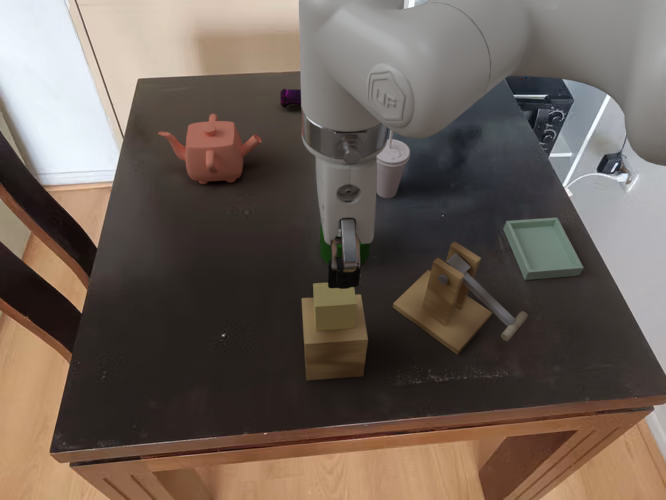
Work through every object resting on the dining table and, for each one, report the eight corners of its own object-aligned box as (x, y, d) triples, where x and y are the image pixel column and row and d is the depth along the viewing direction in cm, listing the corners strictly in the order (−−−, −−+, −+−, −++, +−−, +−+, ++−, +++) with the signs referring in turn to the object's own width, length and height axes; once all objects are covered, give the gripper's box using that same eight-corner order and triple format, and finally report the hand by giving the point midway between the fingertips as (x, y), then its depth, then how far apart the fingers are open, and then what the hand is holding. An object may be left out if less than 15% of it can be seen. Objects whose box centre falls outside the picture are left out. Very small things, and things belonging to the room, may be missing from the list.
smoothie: (387, 174, 102) (394, 113, 92) (411, 193, 99) (421, 131, 89) (362, 189, 100) (367, 127, 89) (385, 208, 97) (393, 147, 86)
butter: (351, 305, 71) (353, 280, 67) (354, 328, 69) (356, 304, 64) (313, 308, 70) (313, 283, 66) (315, 331, 68) (315, 306, 64)
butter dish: (579, 275, 87) (583, 267, 86) (524, 280, 87) (528, 272, 85) (553, 225, 95) (557, 217, 93) (503, 229, 94) (506, 220, 92)
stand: (357, 333, 80) (361, 294, 72) (363, 376, 75) (367, 339, 68) (303, 337, 79) (301, 298, 72) (306, 380, 75) (304, 344, 67)
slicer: (490, 316, 82) (513, 264, 72) (457, 355, 78) (476, 305, 68) (427, 274, 87) (440, 219, 77) (392, 307, 83) (401, 254, 73)
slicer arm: (522, 320, 74) (532, 314, 72) (503, 343, 72) (512, 338, 70) (453, 254, 76) (461, 246, 74) (433, 274, 74) (440, 267, 72)
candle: (311, 256, 89) (309, 215, 81) (336, 225, 94) (337, 183, 86) (354, 277, 86) (357, 236, 79) (378, 244, 91) (383, 202, 83)
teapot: (228, 139, 108) (221, 96, 101) (267, 168, 103) (262, 125, 95) (168, 172, 102) (155, 129, 94) (206, 205, 96) (195, 161, 89)
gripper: (405, 190, 41) (383, 313, 54) (374, 66, 52) (362, 193, 65) (307, 195, 40) (309, 318, 54) (296, 68, 51) (300, 196, 64)
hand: (338, 249), depth 59 cm, fingers open, 9 cm apart
